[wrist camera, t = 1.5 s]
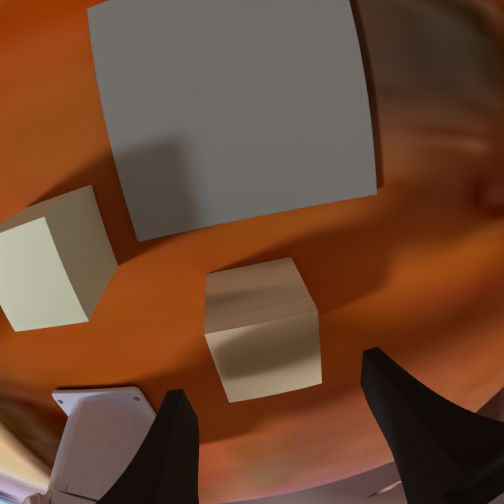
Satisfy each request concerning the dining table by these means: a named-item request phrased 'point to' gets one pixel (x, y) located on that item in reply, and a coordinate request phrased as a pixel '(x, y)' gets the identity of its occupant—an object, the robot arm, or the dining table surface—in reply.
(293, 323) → the maple brick
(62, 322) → the sage brick
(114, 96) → the baseplate
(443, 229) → the dining table surface
